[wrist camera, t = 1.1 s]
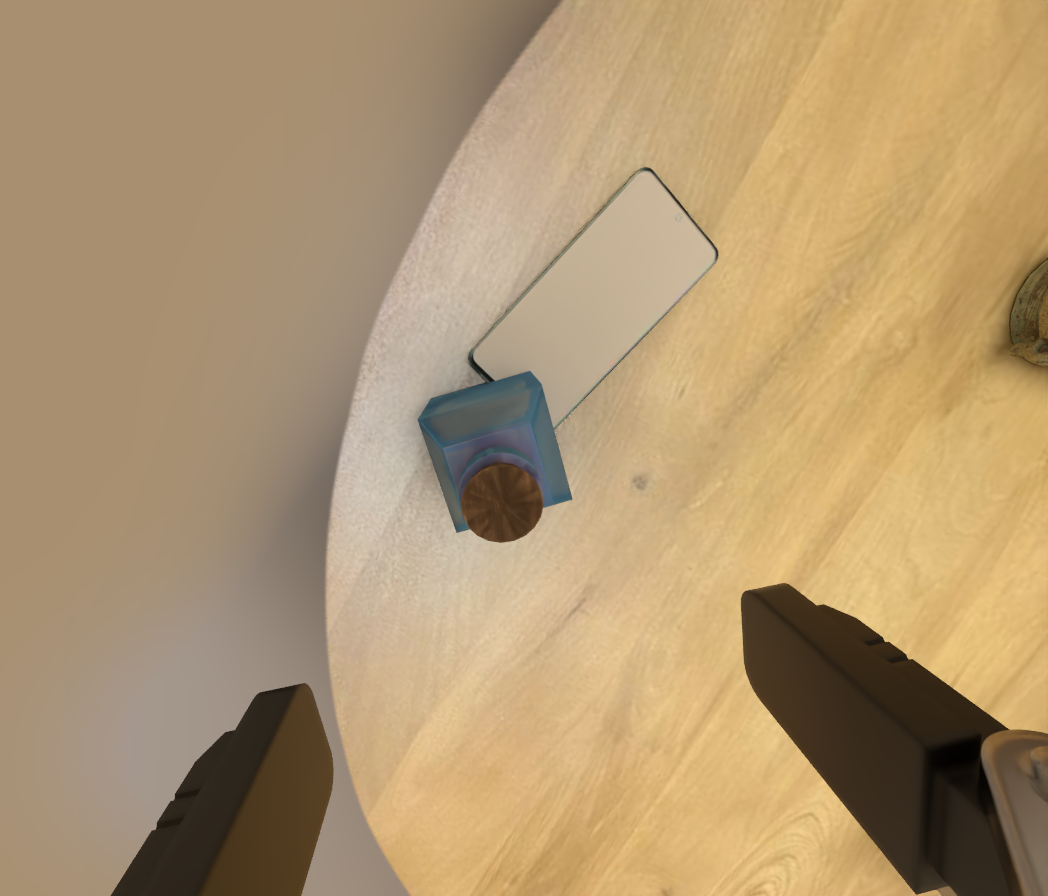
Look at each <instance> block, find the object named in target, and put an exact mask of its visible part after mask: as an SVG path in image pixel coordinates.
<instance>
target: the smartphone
mask: <svg viewBox="0 0 1048 896" xmlns="http://www.w3.org/2000/svg"><path fill="white" fill-rule="evenodd" d="M717 259H718V250H717V248H716V247H715V245H714V244H713V243H712V242H711V240H710V239H709V238H708V237H707V236H706V234H705V233H704V232H703V231H702V229H701V228H700V227H699V226H698V225H697V223H696V222H695V221H694V220H693V218H692V217H691V216H690V215H689V214H688V212H687V211H686V210H685V209H684V207H683V206H682V205H681V204H680V203H679V201H678V200H677V199H676V198H675V196H674V195H673V194H672V193H671V192H670V190H669V189H668V188H667V187H666V185H665V184H664V183H663V182H662V181H661V179H660V178H659V177H658V176H657V174H656V173H655V172H654V171H653V170H652V169H650V168H647V167H645V168H641V169H640V170H638V171H637V172H636V173H635V174H634V176H633V177H632V178H631V179H630V180H629V181H628V182H627V183H626V184H625V185H624V186H623V187H622V188H621V190H620V191H619V192H618V193H617V194H616V195H615V196H614V197H613V198H612V199H611V200H610V201H609V202H608V204H607V205H606V206H605V207H604V208H603V209H602V210H601V211H600V212H599V213H598V214H597V215H596V217H595V218H594V219H593V220H592V221H591V222H590V223H589V224H588V225H587V226H586V227H585V228H584V229H583V231H582V232H581V233H580V234H579V235H578V236H577V237H576V238H575V239H574V240H573V241H572V242H571V243H570V245H569V246H568V247H567V248H566V249H565V250H564V251H563V252H562V253H561V254H560V255H559V256H558V257H557V259H556V260H555V261H554V262H553V263H552V264H551V265H550V266H549V267H548V268H547V269H546V270H545V272H544V273H543V274H542V275H541V276H540V277H539V278H538V279H537V280H536V281H535V282H534V283H533V284H532V286H531V287H530V288H529V289H528V290H527V291H526V292H525V293H524V294H523V295H522V296H521V297H520V298H519V300H518V301H517V302H516V303H515V304H514V305H513V306H512V307H511V308H510V309H509V310H508V311H507V313H506V314H505V315H504V316H503V317H502V318H501V319H500V320H499V321H498V322H497V323H496V324H495V325H494V327H493V328H492V329H491V330H490V331H489V332H488V333H487V334H486V335H485V336H484V337H483V338H482V339H481V341H480V342H479V343H478V344H477V345H476V346H475V347H474V348H473V349H472V350H471V352H470V354H469V362H470V364H471V366H472V367H473V368H474V369H475V370H476V371H477V372H478V373H479V374H480V375H482V376H483V377H484V378H485V379H486V380H487V381H488V382H489V383H490V382H493V381H497V380H500V379H503V378H507V377H510V376H514V375H517V374H521V373H524V372H527V371H531V372H532V373H533V375H534V376H535V377H536V378H537V379H538V380H539V381H540V383H541V384H542V387H543V391H544V394H545V398H546V402H547V406H548V409H549V413H550V417H551V421H552V425H553V428H554V430H555V429H556V428H557V427H558V426H559V425H560V424H561V423H562V422H563V420H564V419H565V418H566V417H567V416H568V415H569V414H570V413H571V412H572V411H573V410H574V409H575V408H576V407H577V406H578V405H579V404H580V403H581V402H582V401H583V400H584V399H585V398H586V397H587V396H588V395H589V394H590V393H591V392H592V390H593V389H594V388H595V387H596V386H597V385H598V384H599V383H600V382H601V381H602V380H603V379H604V378H605V377H606V376H607V375H608V374H609V373H610V372H611V371H612V370H613V369H614V368H615V367H616V366H617V365H618V364H619V363H620V362H621V360H622V359H623V358H624V357H625V356H626V355H627V354H628V353H629V352H630V351H631V350H632V349H633V348H634V347H635V346H636V345H637V344H638V343H639V342H640V341H641V340H642V339H643V338H644V337H645V336H646V335H647V334H648V333H649V332H650V331H651V329H652V328H653V327H654V326H655V325H656V324H657V323H658V322H659V321H660V320H661V319H662V318H663V317H664V316H665V315H666V314H667V313H668V312H669V311H670V310H671V309H672V308H673V307H674V306H675V305H676V304H677V303H678V302H679V301H680V299H681V298H682V297H683V296H684V295H685V294H686V293H687V292H688V291H689V290H690V289H691V288H692V287H693V286H694V285H695V284H696V283H697V282H698V281H699V280H700V279H701V278H702V277H703V276H704V275H705V274H706V273H707V272H708V271H709V269H710V268H711V267H712V266H713V265H714V264H715V263H716V262H717Z"/></svg>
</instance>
